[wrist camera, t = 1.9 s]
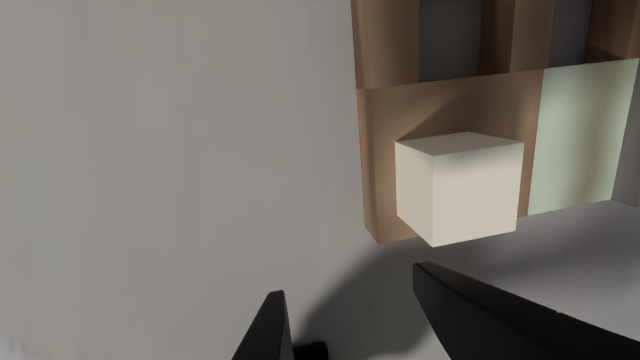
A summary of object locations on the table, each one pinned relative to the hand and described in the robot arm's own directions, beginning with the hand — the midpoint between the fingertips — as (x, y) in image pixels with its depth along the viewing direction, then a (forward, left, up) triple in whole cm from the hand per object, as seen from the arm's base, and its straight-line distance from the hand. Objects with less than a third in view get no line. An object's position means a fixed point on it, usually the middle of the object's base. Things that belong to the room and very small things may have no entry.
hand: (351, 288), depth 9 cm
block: (+7, 0, -8) cm, 11 cm away
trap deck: (+13, +4, -11) cm, 17 cm away
